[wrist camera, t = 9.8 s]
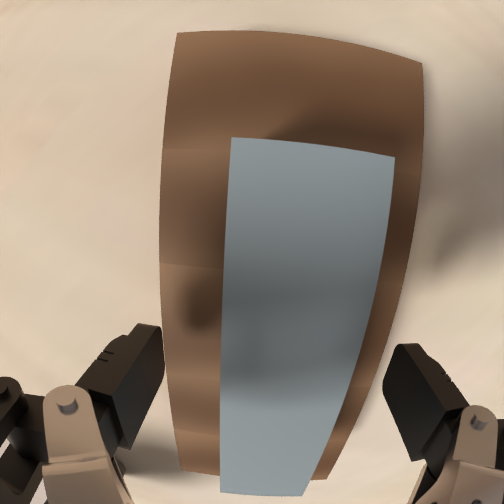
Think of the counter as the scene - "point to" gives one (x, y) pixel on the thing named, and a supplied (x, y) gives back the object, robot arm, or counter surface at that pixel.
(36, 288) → the counter surface
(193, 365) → the brown wooden slab
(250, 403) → the grey bridge block
